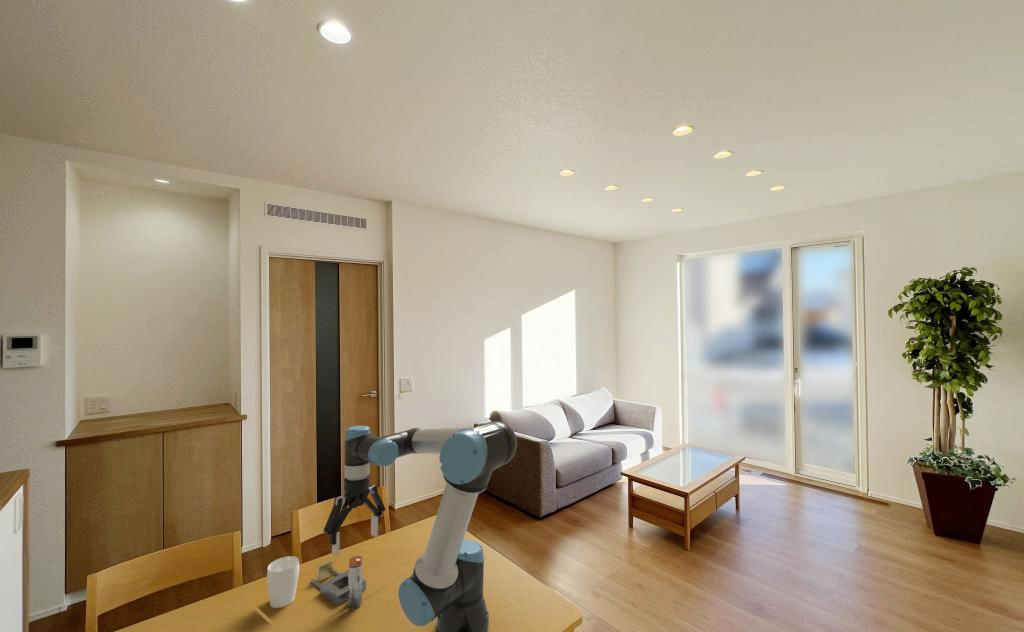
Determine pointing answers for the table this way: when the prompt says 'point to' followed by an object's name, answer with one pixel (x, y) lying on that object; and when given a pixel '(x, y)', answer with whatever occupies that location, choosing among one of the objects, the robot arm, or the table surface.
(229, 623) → the table surface
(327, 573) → the keeper
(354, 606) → the pin
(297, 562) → the cup
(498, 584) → the table surface
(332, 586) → the block
